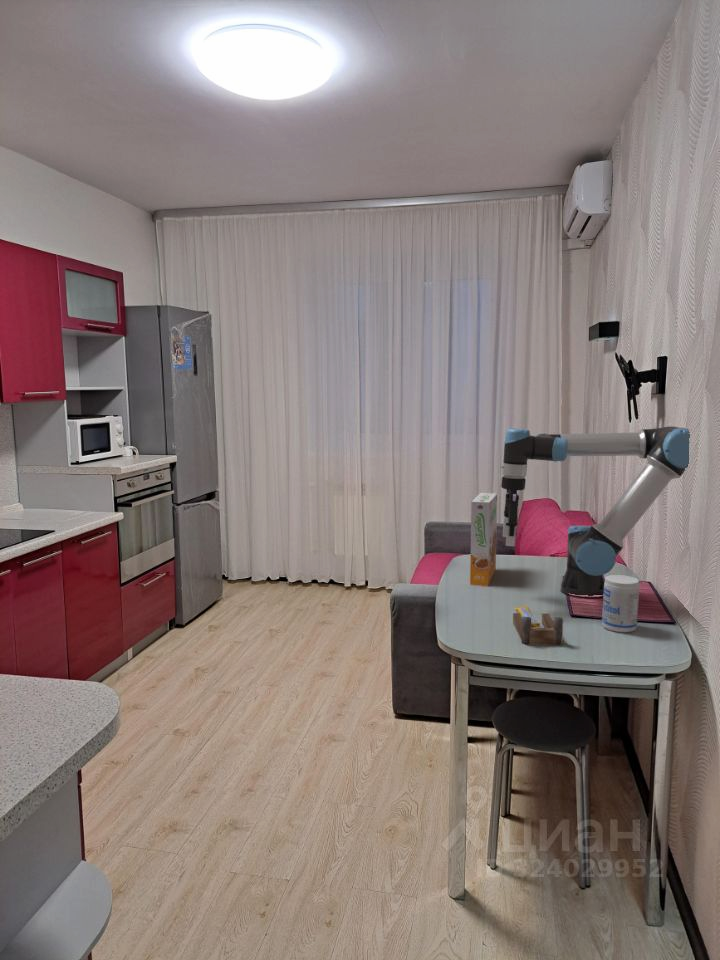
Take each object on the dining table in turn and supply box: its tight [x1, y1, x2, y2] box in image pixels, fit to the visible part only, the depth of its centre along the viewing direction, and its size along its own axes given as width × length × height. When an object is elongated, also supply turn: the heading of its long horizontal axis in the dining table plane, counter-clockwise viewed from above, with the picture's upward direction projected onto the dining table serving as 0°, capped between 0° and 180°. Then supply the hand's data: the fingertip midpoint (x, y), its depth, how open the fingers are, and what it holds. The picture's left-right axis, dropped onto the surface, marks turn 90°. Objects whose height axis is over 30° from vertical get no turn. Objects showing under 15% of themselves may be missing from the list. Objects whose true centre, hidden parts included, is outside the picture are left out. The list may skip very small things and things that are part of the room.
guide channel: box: [512, 612, 564, 646], centre depth 198 cm, size 11×18×7 cm, turn 177°
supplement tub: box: [601, 574, 640, 633], centre depth 202 cm, size 10×10×15 cm
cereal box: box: [469, 492, 498, 587], centre depth 256 cm, size 22×6×30 cm, turn 162°
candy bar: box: [514, 606, 541, 628], centre depth 212 cm, size 17×4×2 cm, turn 179°
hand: (508, 541), depth 227 cm, fingers open, 13 cm apart
